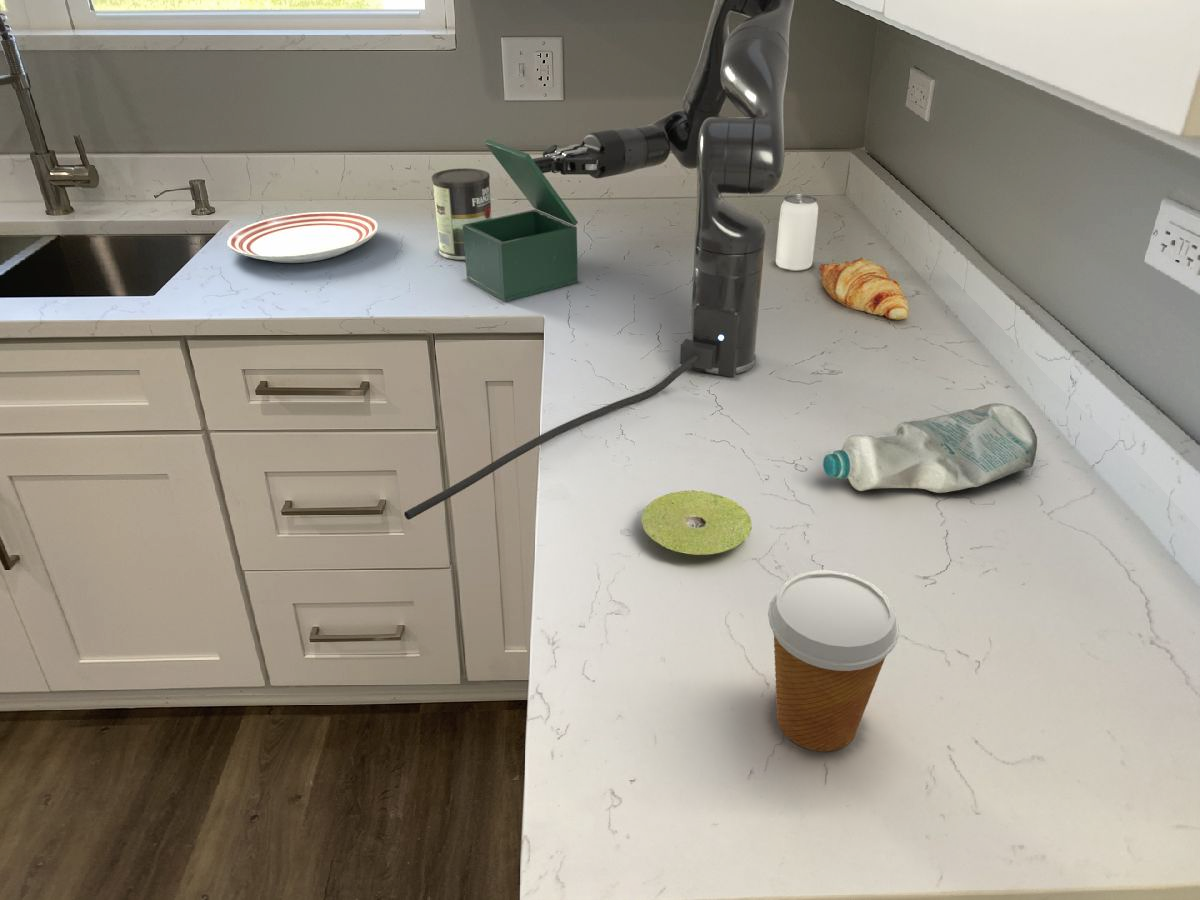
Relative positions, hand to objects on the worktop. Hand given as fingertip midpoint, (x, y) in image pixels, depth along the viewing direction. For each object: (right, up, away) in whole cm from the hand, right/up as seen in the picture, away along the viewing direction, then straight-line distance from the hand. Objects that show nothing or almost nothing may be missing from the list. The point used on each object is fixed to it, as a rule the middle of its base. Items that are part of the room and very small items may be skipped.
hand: (529, 167), depth 150 cm
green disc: (+21, -55, -54) cm, 80 cm away
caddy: (-2, -17, +9) cm, 19 cm away
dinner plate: (-44, -8, +25) cm, 51 cm away
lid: (0, -2, +1) cm, 3 cm away
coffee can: (-13, -9, +22) cm, 28 cm away
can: (+46, -13, +15) cm, 50 cm away
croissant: (+54, -22, 0) cm, 58 cm away
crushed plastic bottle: (+48, -49, -45) cm, 82 cm away
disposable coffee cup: (+29, -68, -76) cm, 106 cm away
